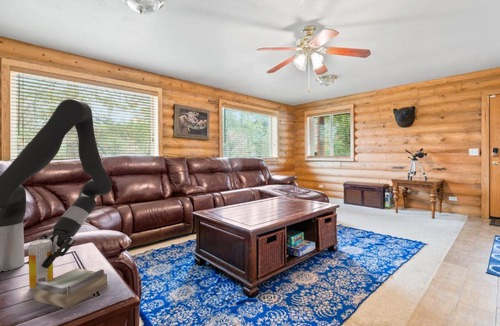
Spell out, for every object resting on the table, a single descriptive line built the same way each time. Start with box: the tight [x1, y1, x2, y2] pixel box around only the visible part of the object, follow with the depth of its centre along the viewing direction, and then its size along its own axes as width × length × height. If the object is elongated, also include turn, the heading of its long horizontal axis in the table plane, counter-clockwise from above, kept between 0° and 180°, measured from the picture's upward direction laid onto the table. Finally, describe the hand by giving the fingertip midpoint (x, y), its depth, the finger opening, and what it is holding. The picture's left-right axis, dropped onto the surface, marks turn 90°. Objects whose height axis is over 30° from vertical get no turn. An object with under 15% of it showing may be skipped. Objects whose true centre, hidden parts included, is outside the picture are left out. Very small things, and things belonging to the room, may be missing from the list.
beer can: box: [27, 239, 54, 291], centre depth 81 cm, size 6×6×15 cm
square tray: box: [33, 267, 108, 310], centre depth 77 cm, size 14×13×6 cm
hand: (37, 265), depth 80 cm, fingers closed on beer can, 6 cm apart
